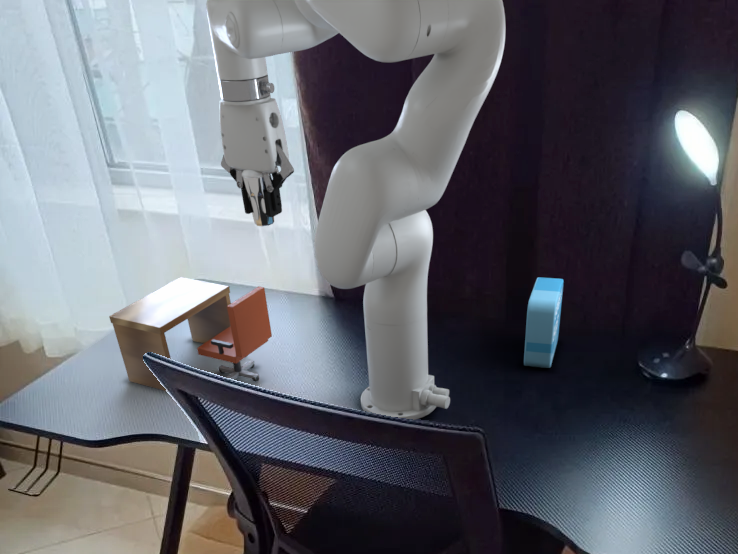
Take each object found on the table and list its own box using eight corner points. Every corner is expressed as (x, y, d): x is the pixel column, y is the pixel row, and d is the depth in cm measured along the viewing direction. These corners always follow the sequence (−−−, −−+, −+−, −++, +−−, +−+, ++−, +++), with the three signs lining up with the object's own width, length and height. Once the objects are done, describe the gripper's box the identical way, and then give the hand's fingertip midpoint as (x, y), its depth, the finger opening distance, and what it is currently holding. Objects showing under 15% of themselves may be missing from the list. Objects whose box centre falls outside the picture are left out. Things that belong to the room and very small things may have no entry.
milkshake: (281, 217, 134) (271, 154, 128) (274, 227, 130) (264, 163, 124) (256, 218, 135) (245, 155, 129) (248, 228, 131) (236, 164, 124)
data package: (549, 371, 133) (555, 304, 125) (523, 369, 134) (527, 302, 127) (558, 340, 142) (564, 275, 134) (533, 338, 143) (538, 274, 135)
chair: (279, 371, 137) (265, 286, 127) (247, 395, 131) (231, 308, 121) (236, 361, 141) (220, 277, 131) (203, 384, 134) (184, 298, 125)
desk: (240, 349, 144) (229, 286, 137) (176, 393, 132) (159, 327, 125) (194, 338, 149) (180, 276, 141) (128, 381, 137) (108, 316, 129)
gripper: (303, 87, 119) (317, 211, 131) (217, 82, 126) (238, 201, 137) (274, 97, 114) (291, 226, 126) (186, 92, 121) (210, 214, 132)
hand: (263, 211), depth 131 cm, fingers closed on milkshake, 4 cm apart
